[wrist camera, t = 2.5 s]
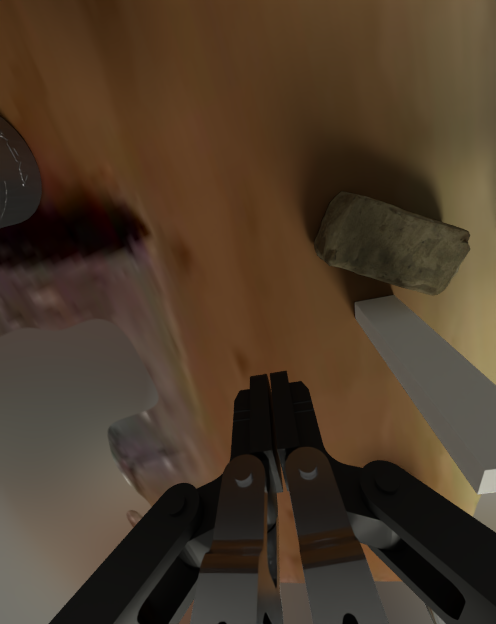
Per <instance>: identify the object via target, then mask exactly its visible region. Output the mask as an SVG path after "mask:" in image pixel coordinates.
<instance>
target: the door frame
mask: <svg viewBox="0 0 496 624" xmlns="http://www.w3.org/2000/svg"><path fill="white" fill-rule="evenodd" d="M355 319H356V320H357V322H358V323H359V325H360V326H361V327H362V329H363V330H364V332H365V333H366V335H367V336H368V338H369V339H370V340H371V342H372V343H373V345H374V346H375V348H376V349H377V351H378V352H379V353H380V355H381V356H382V358H383V359H384V361H385V362H386V363H387V365H388V366H389V368H390V369H391V371H392V372H393V374H394V375H395V376H396V378H397V379H398V381H399V382H400V384H401V385H402V387H403V388H404V389H405V391H406V392H407V394H408V395H409V397H410V398H411V400H412V401H413V402H414V404H415V405H416V407H417V408H418V410H419V411H420V412H421V414H422V415H423V417H424V418H425V420H426V421H427V423H428V424H429V425H430V427H431V428H432V430H433V431H434V433H435V434H436V436H437V437H438V438H439V440H440V441H441V443H442V444H443V446H444V447H445V449H446V450H447V451H448V453H449V454H450V456H451V457H452V459H453V460H454V461H455V463H456V464H457V466H458V467H459V469H460V470H461V472H462V473H463V474H464V476H465V477H466V479H467V480H468V482H469V483H470V485H471V486H472V487H473V489H474V490H475V492H476V493H477V494H485V493H495V492H496V385H495V384H494V383H493V382H491V381H490V380H489V379H488V378H487V377H486V376H485V375H484V374H482V373H481V372H480V371H479V370H478V369H477V368H476V367H475V366H473V365H472V364H471V363H470V362H469V361H468V360H467V359H466V358H464V357H463V356H462V355H461V354H460V353H459V352H458V351H457V350H455V349H454V348H453V347H452V346H451V345H450V344H449V343H448V342H446V341H445V340H444V339H443V338H442V337H441V336H440V335H439V334H437V333H436V332H435V331H434V330H433V329H432V328H431V327H430V326H428V325H427V324H426V323H425V322H424V321H423V320H422V319H421V318H419V317H418V316H417V315H416V314H415V313H414V312H413V311H412V310H410V309H409V308H408V307H407V306H406V305H405V304H404V303H403V302H401V301H400V300H399V299H398V298H397V297H396V296H395V295H391V296H386V297H380V298H375V299H369V300H363V301H358V302H355Z"/></svg>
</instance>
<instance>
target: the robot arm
mask: <svg viewBox="0 0 496 624" xmlns="http://www.w3.org/2000/svg"><path fill="white" fill-rule="evenodd" d="M41 194H42V188H41V177H40V173H39V169H38V166H37V164H36V161H35V159H34V156H33V154H32V153H31V151H30V149H29V148H28V146H27V144H26V143H25V141H24V140H23V139H22V138H21V136H20V135H19V134H18V133H17V131H16V130H15V129H14V128H13V127H12V126H11V125H9V124H8V123H7V122H6V121H5V120H4V119H3V118H1V117H0V228H2V227H6V226H10V225H14V224H18V223H21V222H23V221H25V220H27V219H28V218H29V217H30V216H31V215H32V214H33V213H34V212H35V211H36V209H37V207H38V205H39V203H40V198H41ZM270 380H271V389H270V385H269V380H268V376H267V374H263V375H256V376H250V389H247V390H240V391H239V393H238V395H237V397H236V399H235V401H234V416H233V430H232V445H231V458H230V462H229V463H228V464H227V466H226V467H225V469H224V472H223V474H222V475H221V476H219V477H218V478H217V479H215V480H214V481H212V482H210V483H208V484H206V485H204V486H202V487H199V488H197V489H196V488H195V487H194V486H193V485H191V484H189V483H180V484H177V485H174V486H172V487H171V488H169V489H168V490H167V491H166V492H165V493H164V494H163V495H162V496H161V497H160V498H159V500H158V501H157V502H156V503H155V504H154V505H153V506H152V508H151V509H150V510H149V511H148V512H147V513H146V514H145V515H144V517H143V518H142V519H141V520H140V521H139V522H138V523H137V524H136V526H135V527H134V528H133V529H132V530H131V531H130V532H129V533H128V535H127V536H126V537H125V538H124V539H123V540H122V541H121V543H120V544H119V545H118V546H117V547H116V548H115V549H114V550H113V552H112V553H111V554H110V555H109V556H108V557H107V558H106V559H105V561H104V562H103V563H102V564H101V565H100V566H99V567H98V569H97V570H96V571H95V572H94V573H93V574H92V575H91V577H90V578H89V579H88V580H87V581H86V582H85V583H84V584H83V585H82V587H81V588H80V589H79V590H78V591H77V592H76V593H75V595H74V596H73V597H72V598H71V599H70V600H69V601H68V602H67V604H66V605H65V606H64V607H63V608H62V609H61V610H60V612H59V613H58V614H57V615H56V616H55V617H54V618H53V619H52V620H51V622H50V623H49V624H179V622H180V620H181V619H182V617H183V616H184V614H185V613H186V611H187V609H188V608H189V606H190V605H191V603H192V602H193V600H194V605H193V610H192V616H191V622H190V624H283V611H282V602H281V594H280V565H279V519H278V505H277V493H278V492H283V485H282V475H281V467H282V471H283V475H284V479H285V483H286V487H287V491H289V492H290V497H291V503H292V508H293V514H294V519H295V524H296V530H297V535H298V540H299V547H300V555H301V561H302V566H303V572H304V577H305V582H306V588H307V593H308V599H309V604H310V610H311V615H312V620H313V624H389V622H388V619H387V617H386V614H385V611H384V608H383V605H382V603H381V599H380V597H379V594H378V591H377V588H376V585H375V582H374V580H373V577H372V574H371V571H370V568H369V565H368V563H367V560H366V557H365V554H364V552H363V549H362V547H361V544H360V543H363V544H366V545H368V547H369V548H370V549H371V550H372V551H373V552H374V553H375V554H376V555H377V556H378V557H379V558H380V559H381V560H382V561H383V562H384V563H385V564H386V565H387V566H388V567H389V568H390V569H391V570H392V571H393V572H394V573H395V574H396V575H397V576H398V577H399V578H400V579H401V580H402V581H403V582H404V583H405V584H406V585H407V586H408V587H409V588H410V589H411V590H412V591H413V592H414V593H415V594H416V595H417V596H418V597H419V598H420V599H421V600H422V601H423V602H424V603H425V604H426V605H427V606H428V607H429V608H431V609H432V610H433V611H434V612H435V613H436V614H437V615H438V616H439V617H440V618H441V619H442V620H443V621H444V622H445V623H446V624H496V533H495V532H494V531H493V530H491V529H490V528H488V527H486V526H485V525H484V524H482V523H481V522H479V521H478V520H476V519H475V518H474V517H472V516H471V515H469V514H468V513H466V512H465V511H463V510H462V509H460V508H459V507H457V506H456V505H454V504H453V503H452V502H450V501H449V500H447V499H446V498H444V497H443V496H441V495H440V494H438V493H437V492H435V491H434V490H433V489H431V488H430V487H428V486H427V485H425V484H424V483H422V482H421V481H419V480H418V479H416V478H415V477H414V476H412V475H411V474H409V473H408V472H406V471H405V470H403V469H402V468H400V467H399V466H397V465H395V464H393V463H391V462H388V461H382V460H377V461H372V462H370V463H368V464H366V465H365V466H364V467H363V468H360V467H355V466H350V465H346V464H343V463H340V462H338V461H337V460H335V459H334V458H332V457H331V456H330V455H329V454H328V453H327V451H326V450H325V448H324V445H323V442H322V438H321V435H320V431H319V427H318V423H317V419H316V416H315V412H314V408H313V404H312V401H311V397H310V393H309V389H308V388H307V387H306V386H305V385H304V384H303V383H302V381H299V382H292V383H289V381H288V376H287V371H281V372H275V373H270ZM271 390H272V393H271ZM280 463H281V466H280ZM194 598H195V599H194Z"/></svg>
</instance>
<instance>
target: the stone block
mask: <svg viewBox="0 0 496 624" xmlns="http://www.w3.org/2000/svg"><path fill="white" fill-rule="evenodd" d="M469 237H470V234H469V232H468V231H467V230H464V229H462V228H459V227H456V226H453V225H450V224H446V223H443V222H440V221H437V220H434V219H430V218H427V217H424V216H421V215H418V214H415V213H412V212H408V211H405V210H403V209H401V208H398V207H396V206H394V205H391V204H388V203H385V202H382V201H379V200H376V199H373V198H370V197H366V196H363V195H358V194H353V193H349V192H344V191H342V192H340V193H339V194H338V195H337V196H336V197H335V198H334V199H333V200H332V201H331V202H330V204H329V206H328V208H327V211H326V214H325V216H324V217H323V219H322V222H321V227H320V230H319V232H318V235H317V236H316V239H315V242H314V247H315V251H316V253H317V256H319V257H320V259H322V260H324V261H325V262H326V263H327V264H328V265H329V266H334V267H339V268H343V269H346V270H349V271H352V272H355V273H356V274H359V275H363V276H367V277H371V278H374V279H377V280H380V281H383V282H386V283H389V284H392V285H396V286H399V287H402V288H406V289H410V290H414V291H418V292H421V293H425V294H428V295H438V294H439V293H441V292H442V291H443V290H444V289H445V288H446V287H447V286H448V284H449V283H450V281H451V279H452V278H453V277H454V276H455V274H456V273H457V272H458V269H459V266H460V264H461V263H462V261H463V260H464V258H465V257H466V255H467V254H468V252H469V251H470V247H469V245H468V240H469Z"/></svg>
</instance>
